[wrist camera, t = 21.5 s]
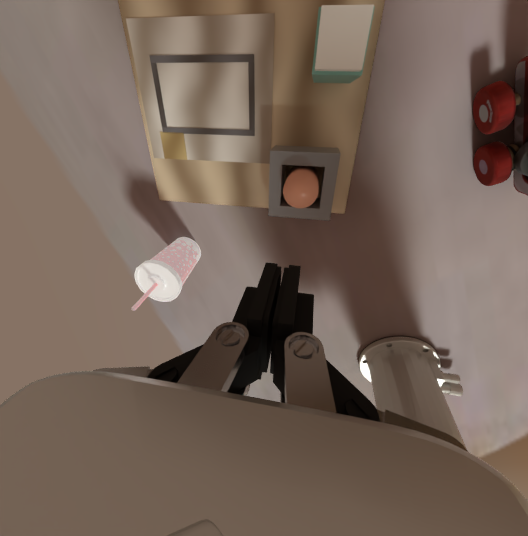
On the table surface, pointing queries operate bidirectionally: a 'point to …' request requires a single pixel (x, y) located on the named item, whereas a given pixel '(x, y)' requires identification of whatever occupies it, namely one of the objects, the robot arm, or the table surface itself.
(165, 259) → the beverage cup
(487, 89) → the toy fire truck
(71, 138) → the table surface
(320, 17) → the green and white block
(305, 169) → the button
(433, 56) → the table surface
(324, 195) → the button housing
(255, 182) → the board
